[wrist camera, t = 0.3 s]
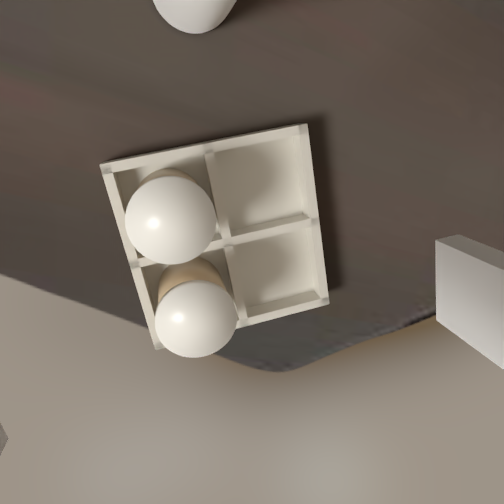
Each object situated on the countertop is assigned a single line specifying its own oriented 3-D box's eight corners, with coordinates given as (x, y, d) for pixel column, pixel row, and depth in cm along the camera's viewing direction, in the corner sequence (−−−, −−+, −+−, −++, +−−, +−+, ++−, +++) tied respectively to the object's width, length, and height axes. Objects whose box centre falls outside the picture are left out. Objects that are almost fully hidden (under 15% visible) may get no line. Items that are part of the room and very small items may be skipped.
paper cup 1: (123, 174, 34) (113, 187, 27) (197, 159, 35) (206, 168, 28) (143, 245, 36) (138, 273, 29) (212, 229, 37) (224, 253, 30)
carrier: (103, 161, 34) (99, 164, 32) (298, 123, 36) (307, 123, 34) (155, 337, 40) (155, 350, 37) (320, 294, 42) (329, 303, 40)
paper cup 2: (148, 263, 37) (145, 295, 30) (216, 247, 38) (228, 274, 31) (165, 324, 39) (166, 366, 32) (230, 307, 40) (243, 345, 33)
